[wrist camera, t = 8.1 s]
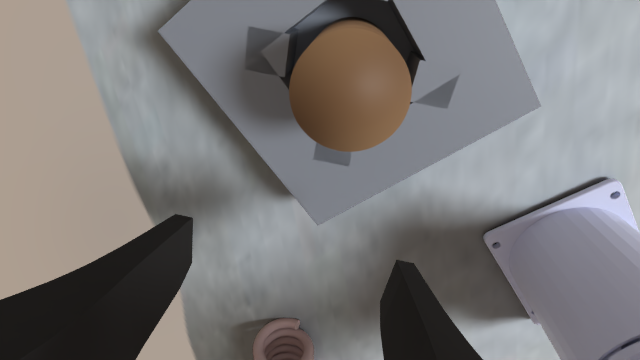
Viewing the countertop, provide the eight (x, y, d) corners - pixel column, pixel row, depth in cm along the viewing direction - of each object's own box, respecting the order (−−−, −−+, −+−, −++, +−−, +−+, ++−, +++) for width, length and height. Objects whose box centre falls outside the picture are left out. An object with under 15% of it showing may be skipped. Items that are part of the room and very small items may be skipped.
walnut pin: (405, 71, 17) (433, 112, 11) (339, 113, 19) (332, 171, 13) (363, -2, 16) (370, 0, 10) (295, 49, 17) (264, 78, 11)
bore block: (508, 87, 18) (541, 106, 15) (322, 192, 22) (317, 225, 19) (394, -158, 14) (407, -203, 11) (191, 25, 18) (157, 30, 15)
